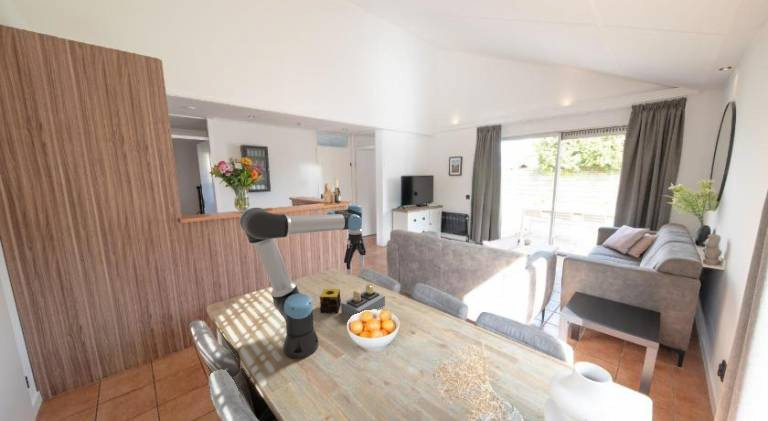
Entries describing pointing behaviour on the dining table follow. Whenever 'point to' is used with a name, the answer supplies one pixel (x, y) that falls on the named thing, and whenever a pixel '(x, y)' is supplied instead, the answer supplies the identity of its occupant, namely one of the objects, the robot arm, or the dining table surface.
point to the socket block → (363, 304)
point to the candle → (330, 301)
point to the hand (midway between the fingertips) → (355, 270)
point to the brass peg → (369, 290)
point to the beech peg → (357, 297)
